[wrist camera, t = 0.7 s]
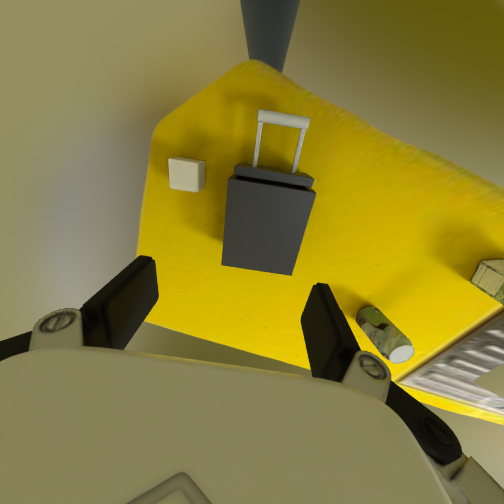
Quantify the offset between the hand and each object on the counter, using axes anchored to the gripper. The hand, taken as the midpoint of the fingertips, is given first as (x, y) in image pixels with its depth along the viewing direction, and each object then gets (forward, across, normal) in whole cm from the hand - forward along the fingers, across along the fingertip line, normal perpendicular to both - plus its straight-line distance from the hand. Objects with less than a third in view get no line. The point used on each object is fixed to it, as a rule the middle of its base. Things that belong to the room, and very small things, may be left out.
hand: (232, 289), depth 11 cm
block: (+28, +11, -2) cm, 30 cm away
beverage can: (+28, -33, +24) cm, 49 cm away
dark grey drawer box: (+28, -3, +4) cm, 28 cm away
